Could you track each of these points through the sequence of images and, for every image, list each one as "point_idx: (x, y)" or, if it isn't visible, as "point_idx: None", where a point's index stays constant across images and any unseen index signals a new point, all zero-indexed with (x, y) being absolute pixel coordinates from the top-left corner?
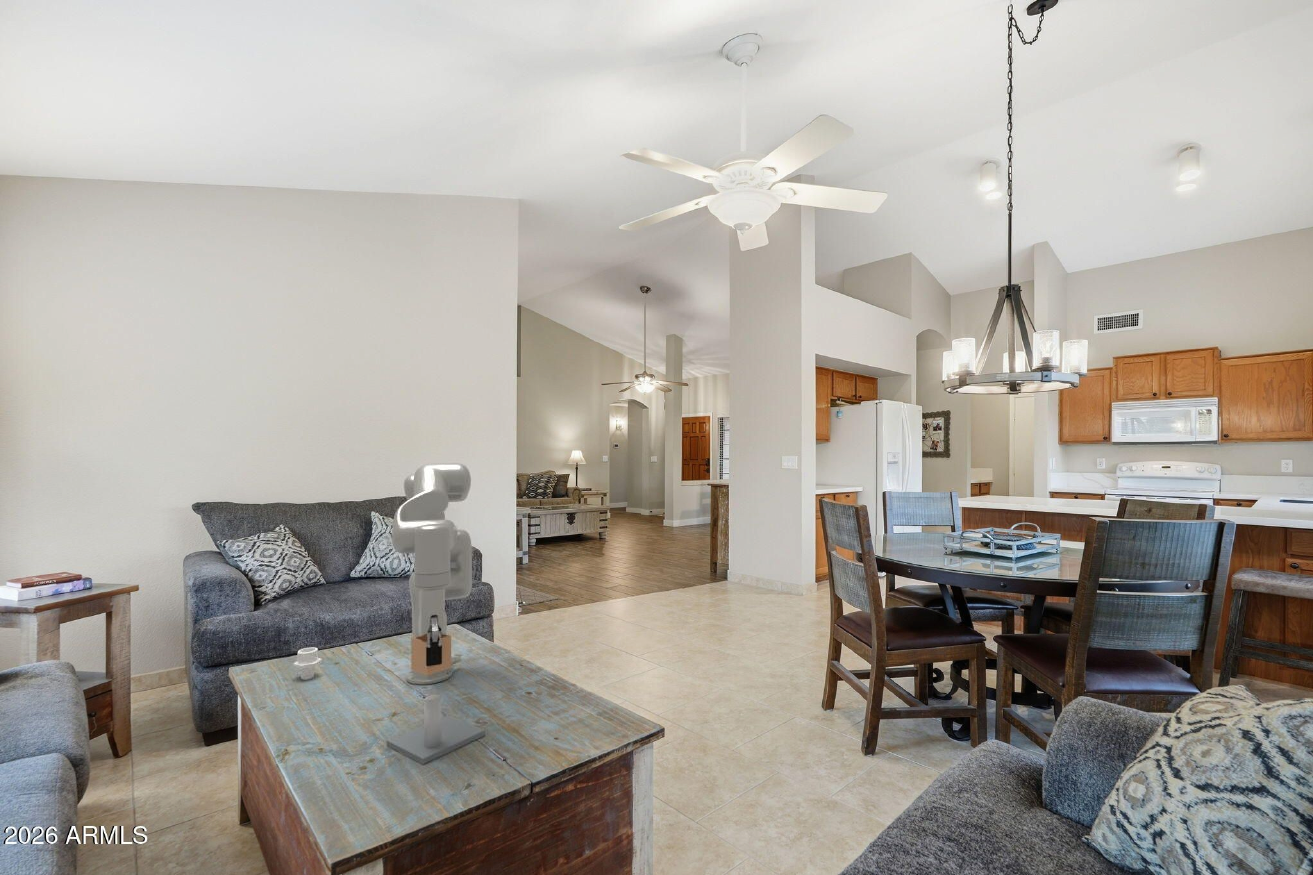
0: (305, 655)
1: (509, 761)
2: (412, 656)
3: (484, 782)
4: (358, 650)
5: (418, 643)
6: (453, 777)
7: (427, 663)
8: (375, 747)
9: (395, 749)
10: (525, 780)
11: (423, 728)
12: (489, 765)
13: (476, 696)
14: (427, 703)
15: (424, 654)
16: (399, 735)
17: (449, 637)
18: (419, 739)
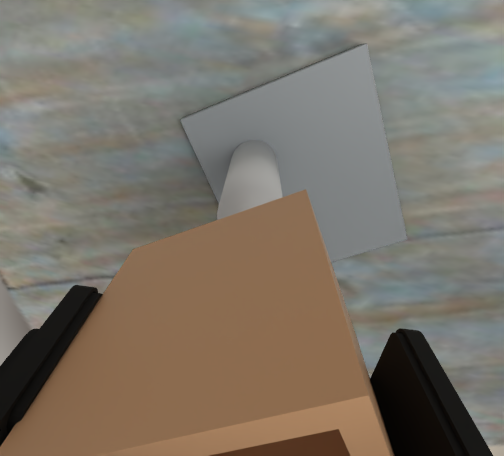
0: None
1: (107, 281)
2: (301, 243)
3: (36, 217)
4: None
5: (178, 395)
6: (83, 167)
7: (67, 300)
8: (375, 6)
9: (313, 64)
10: (18, 281)
11: (370, 163)
12: (107, 246)
13: (485, 319)
14: (228, 190)
15: (107, 337)
16: (373, 89)
17: None
18: (305, 137)
